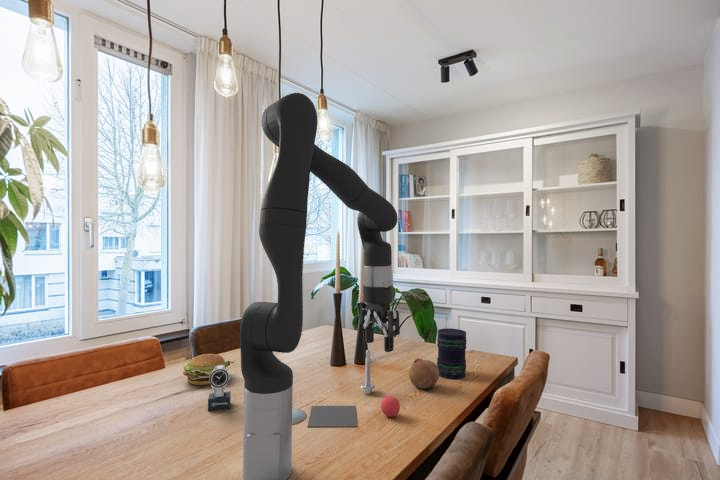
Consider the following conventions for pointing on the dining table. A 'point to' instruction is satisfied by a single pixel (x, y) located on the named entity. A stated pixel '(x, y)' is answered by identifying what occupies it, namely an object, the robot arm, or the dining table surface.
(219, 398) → the watch
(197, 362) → the food
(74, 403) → the dining table surface
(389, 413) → the ball
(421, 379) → the onion
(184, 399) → the dining table surface
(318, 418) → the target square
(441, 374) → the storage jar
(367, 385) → the screw
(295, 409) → the disc
